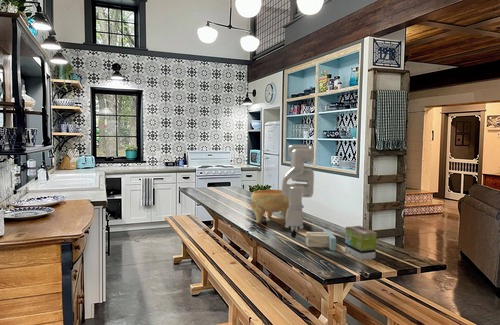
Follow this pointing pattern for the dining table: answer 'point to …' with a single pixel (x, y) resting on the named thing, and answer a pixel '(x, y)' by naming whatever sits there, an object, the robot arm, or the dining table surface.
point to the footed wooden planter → (269, 203)
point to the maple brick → (317, 239)
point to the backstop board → (331, 240)
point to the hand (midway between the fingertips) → (293, 237)
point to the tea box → (360, 242)
